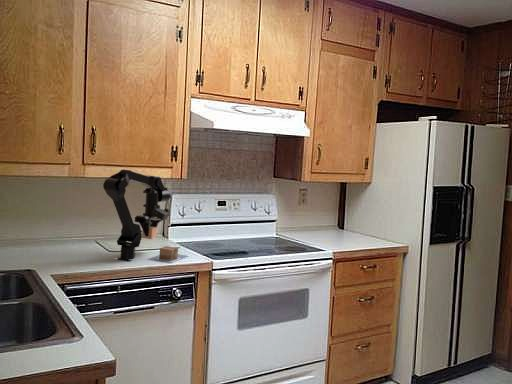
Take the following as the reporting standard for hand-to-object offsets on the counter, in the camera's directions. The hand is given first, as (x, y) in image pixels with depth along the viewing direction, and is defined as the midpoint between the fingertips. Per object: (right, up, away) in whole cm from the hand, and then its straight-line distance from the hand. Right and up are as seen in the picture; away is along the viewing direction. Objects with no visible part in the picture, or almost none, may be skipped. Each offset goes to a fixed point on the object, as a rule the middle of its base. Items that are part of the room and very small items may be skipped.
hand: (149, 235), depth 230 cm
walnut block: (+10, -10, -7) cm, 16 cm away
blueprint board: (+10, -10, -5) cm, 15 cm away
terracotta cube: (0, -1, 0) cm, 1 cm away
